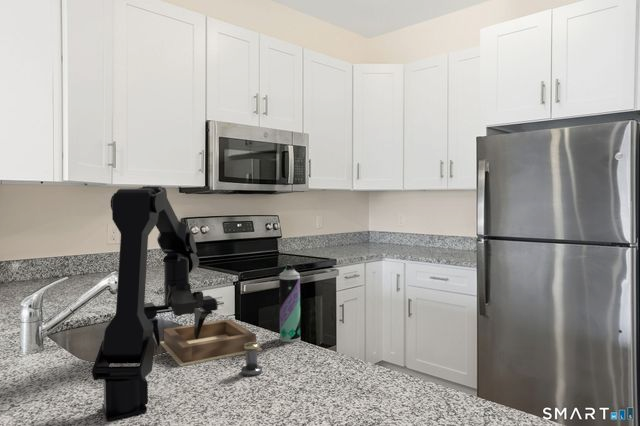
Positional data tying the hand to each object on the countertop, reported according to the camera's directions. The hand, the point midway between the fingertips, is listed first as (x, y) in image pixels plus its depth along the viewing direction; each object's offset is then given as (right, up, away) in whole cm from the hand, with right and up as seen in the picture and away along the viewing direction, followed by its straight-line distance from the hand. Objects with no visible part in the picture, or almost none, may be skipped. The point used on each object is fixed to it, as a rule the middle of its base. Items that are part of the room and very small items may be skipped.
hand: (177, 342), depth 109 cm
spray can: (+27, -2, +10) cm, 29 cm away
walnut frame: (+7, -2, +4) cm, 8 cm away
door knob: (+20, -3, -13) cm, 24 cm away
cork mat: (+7, -2, +4) cm, 8 cm away
